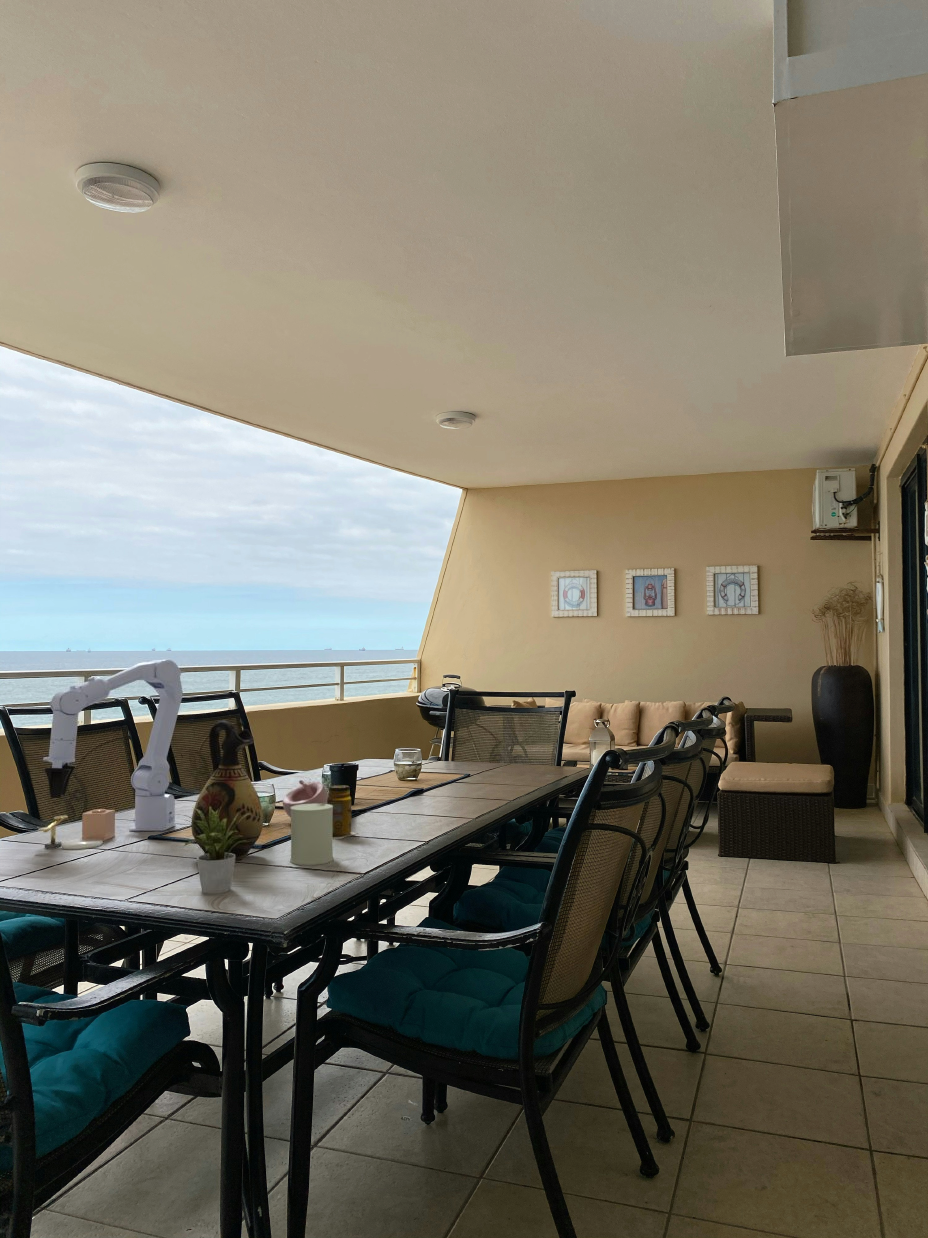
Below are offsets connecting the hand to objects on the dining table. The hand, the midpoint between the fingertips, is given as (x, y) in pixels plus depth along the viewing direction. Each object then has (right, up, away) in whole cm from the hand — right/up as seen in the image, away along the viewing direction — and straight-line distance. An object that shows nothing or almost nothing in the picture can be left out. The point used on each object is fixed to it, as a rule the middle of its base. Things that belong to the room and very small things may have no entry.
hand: (57, 796), depth 212 cm
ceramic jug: (+46, -10, -19) cm, 50 cm away
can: (+65, -9, -23) cm, 70 cm away
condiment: (+67, -11, +5) cm, 68 cm away
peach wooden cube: (+8, -11, +4) cm, 14 cm away
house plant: (+50, -8, -47) cm, 69 cm away
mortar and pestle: (+56, -12, +24) cm, 62 cm away
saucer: (+8, -11, -4) cm, 14 cm away
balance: (+2, -11, -6) cm, 12 cm away
